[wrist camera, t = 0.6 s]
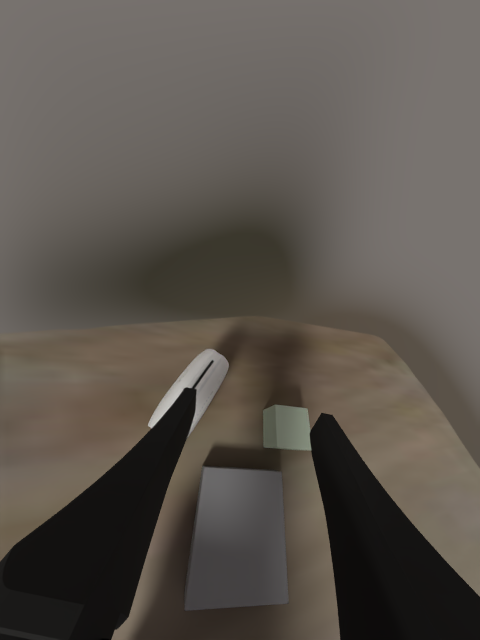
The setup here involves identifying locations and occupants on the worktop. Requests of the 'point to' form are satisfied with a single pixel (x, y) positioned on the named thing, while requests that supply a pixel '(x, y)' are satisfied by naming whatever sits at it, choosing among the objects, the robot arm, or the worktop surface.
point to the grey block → (237, 540)
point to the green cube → (286, 428)
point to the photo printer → (196, 384)
